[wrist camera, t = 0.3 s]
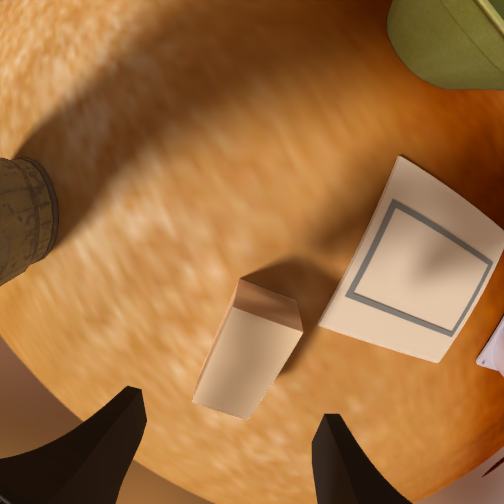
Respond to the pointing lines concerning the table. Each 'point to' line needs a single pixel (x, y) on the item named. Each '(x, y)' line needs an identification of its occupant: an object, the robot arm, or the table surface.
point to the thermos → (25, 216)
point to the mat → (416, 267)
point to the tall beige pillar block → (248, 350)
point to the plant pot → (450, 41)
